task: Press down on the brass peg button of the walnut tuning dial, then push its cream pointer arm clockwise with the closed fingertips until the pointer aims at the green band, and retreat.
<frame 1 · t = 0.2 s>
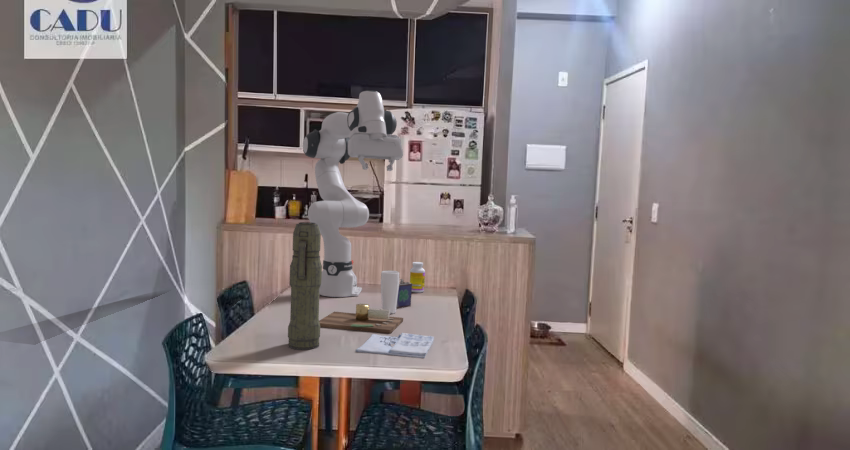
hand: (377, 169, 198), 52 cm above the table, tool tilted 20°, fingers open, 8 cm apart
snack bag: (396, 348, 164), on the table
thermos: (303, 346, 160), on the table
drinking glass: (388, 313, 206), on the table
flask: (401, 307, 216), on the table
dial board: (360, 323, 187), on the table
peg: (372, 313, 188), point 4 cm above the table, hinge at 0.0°
supplement bottle: (416, 291, 249), on the table
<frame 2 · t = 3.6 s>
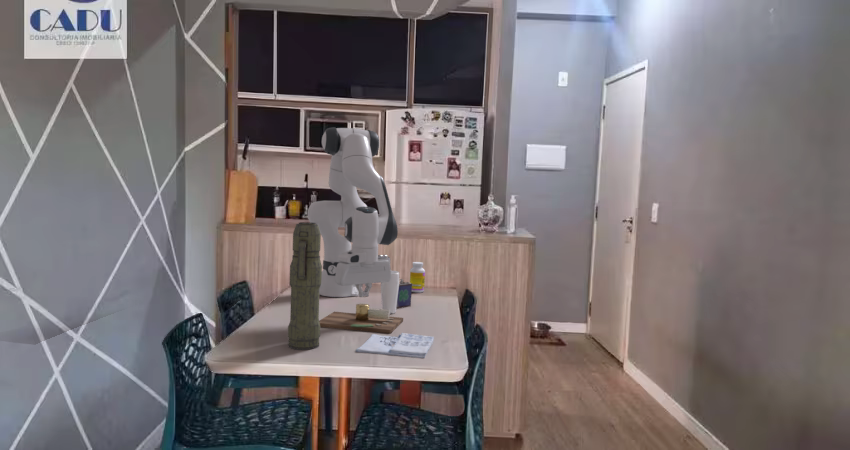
hand: (363, 296, 188), 9 cm above the table, tool pointing down, fingers closed
nothing on the table moved.
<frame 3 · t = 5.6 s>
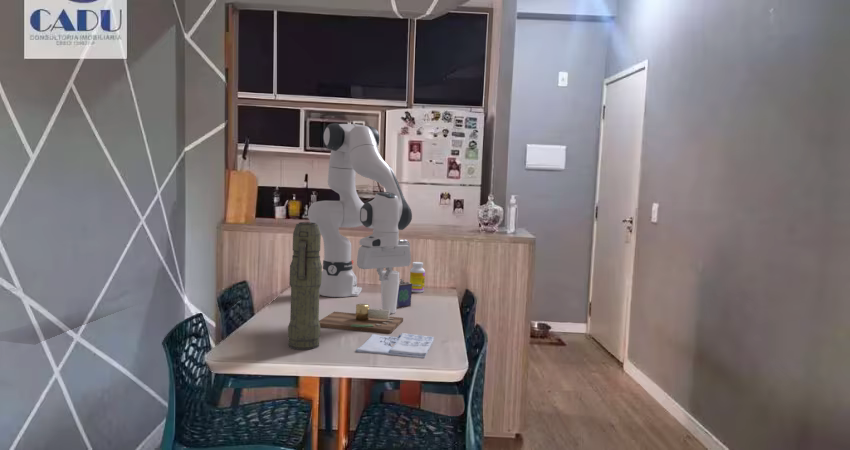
hand: (384, 280, 191), 14 cm above the table, tool pointing down, fingers closed
nothing on the table moved.
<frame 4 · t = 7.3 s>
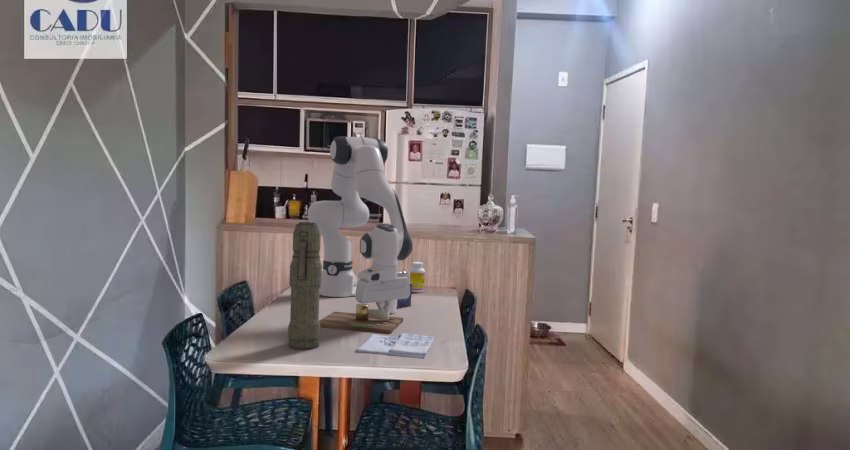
hand: (382, 313, 189), 3 cm above the table, tool pointing down, fingers closed
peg: (372, 313, 188), point 4 cm above the table, hinge at -2.8°, touching gripper
everything else where it was.
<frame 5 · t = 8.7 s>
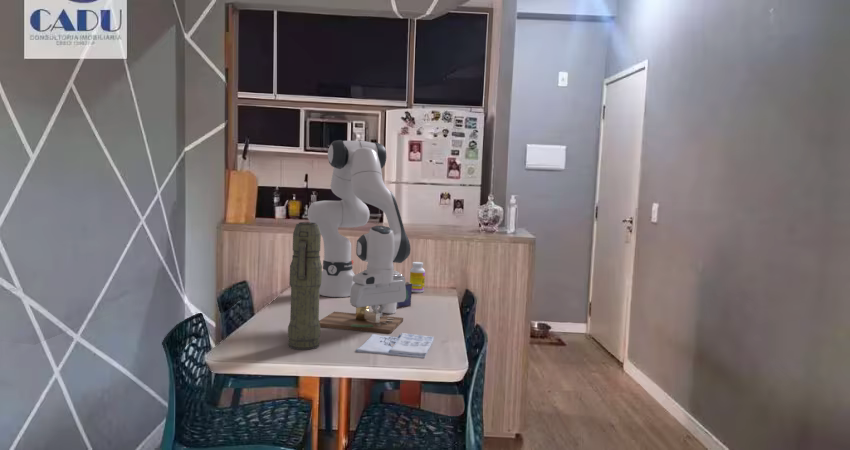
hand: (378, 317, 185), 3 cm above the table, tool pointing down, fingers closed
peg: (368, 314, 186), point 4 cm above the table, hinge at -40.2°, touching gripper
everything else where it was.
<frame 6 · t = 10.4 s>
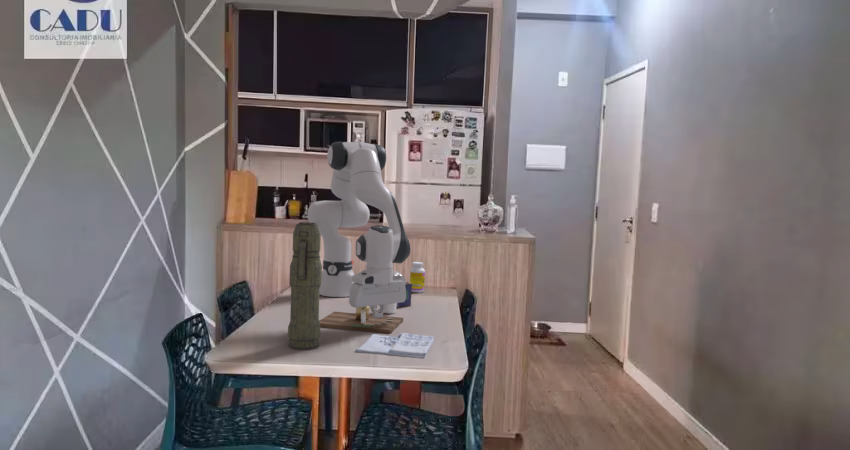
hand: (377, 318, 183), 3 cm above the table, tool pointing down, fingers closed
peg: (362, 314, 185), point 4 cm above the table, hinge at -70.4°
everything else where it was.
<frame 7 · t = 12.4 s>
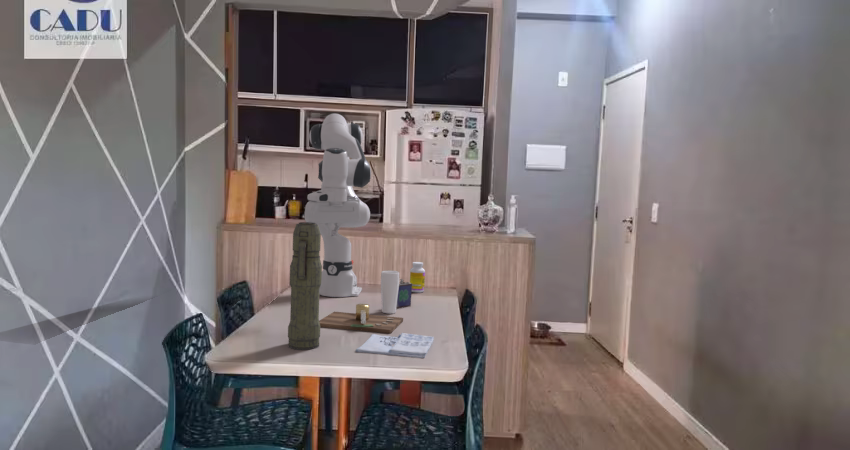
hand: (332, 235, 194), 28 cm above the table, tool pointing down, fingers closed
nothing on the table moved.
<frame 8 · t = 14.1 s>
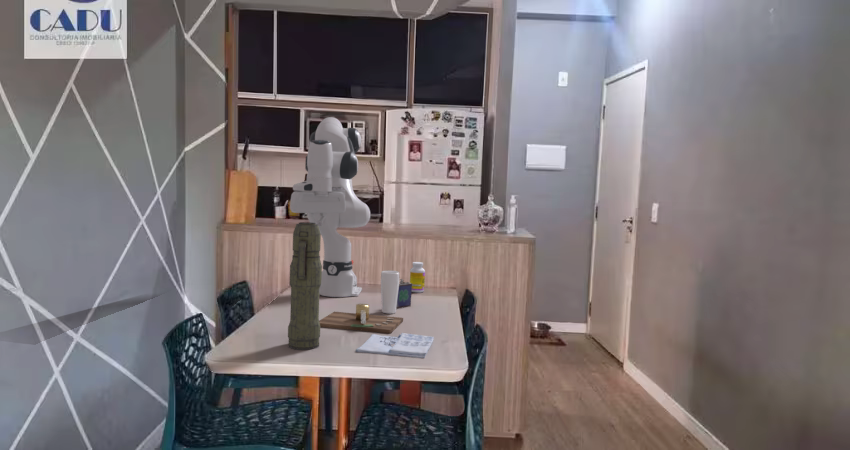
hand: (318, 225, 197), 31 cm above the table, tool pointing down, fingers closed
nothing on the table moved.
at the end: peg at -70° (first picture: +0°); the gripper is holding nothing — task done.
